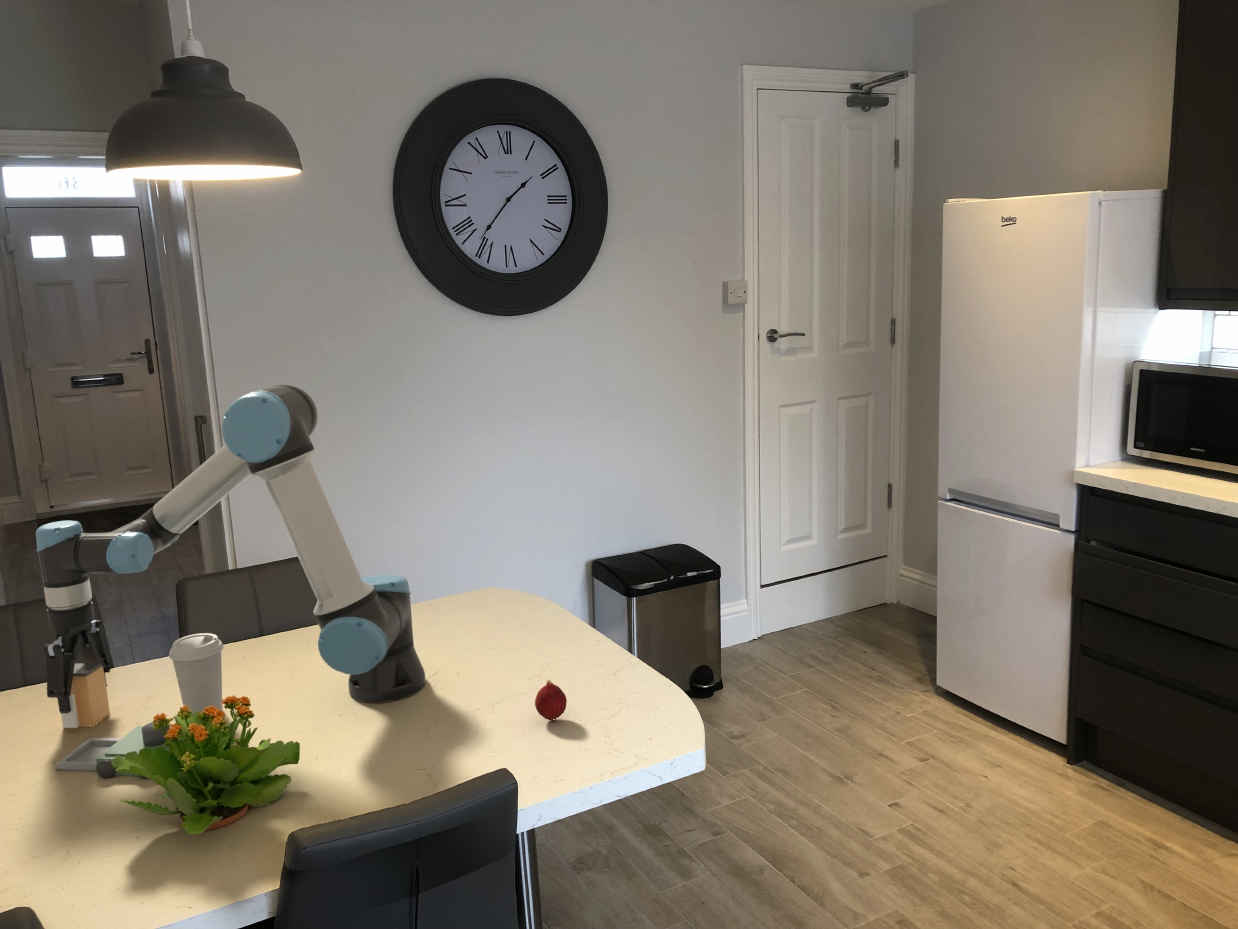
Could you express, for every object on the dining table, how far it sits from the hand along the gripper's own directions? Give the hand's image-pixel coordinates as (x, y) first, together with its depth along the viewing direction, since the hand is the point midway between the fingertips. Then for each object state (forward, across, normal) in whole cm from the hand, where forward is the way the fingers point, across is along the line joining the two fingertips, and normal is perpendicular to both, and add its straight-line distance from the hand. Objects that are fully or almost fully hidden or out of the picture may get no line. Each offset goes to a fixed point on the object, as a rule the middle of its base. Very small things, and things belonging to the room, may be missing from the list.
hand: (86, 716), depth 182 cm
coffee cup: (+1, -3, +22) cm, 22 cm away
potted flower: (+1, +32, +42) cm, 52 cm away
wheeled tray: (+1, +14, +17) cm, 22 cm away
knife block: (+1, 0, 0) cm, 1 cm away
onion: (+1, -2, +90) cm, 90 cm away
